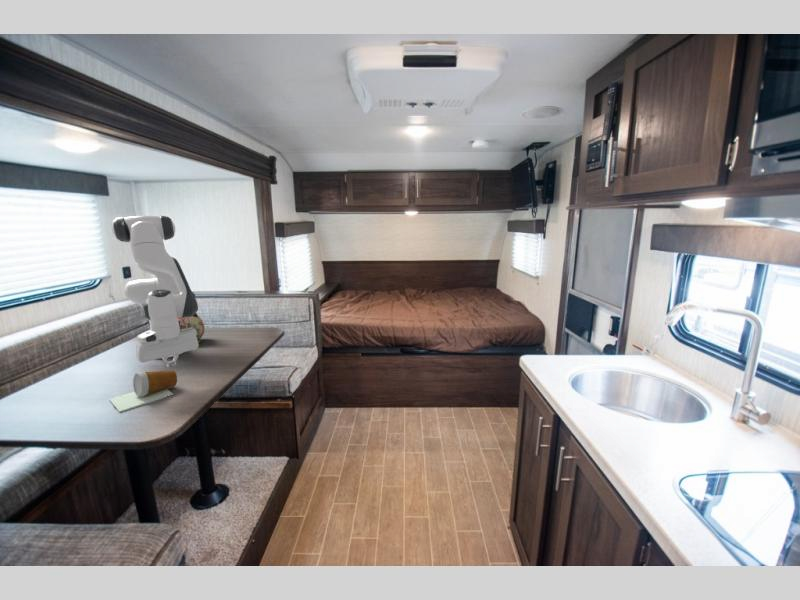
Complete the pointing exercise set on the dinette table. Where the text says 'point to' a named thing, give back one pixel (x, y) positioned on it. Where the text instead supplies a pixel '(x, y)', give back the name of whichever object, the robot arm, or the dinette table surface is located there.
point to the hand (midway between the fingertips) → (171, 365)
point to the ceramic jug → (192, 324)
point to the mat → (137, 400)
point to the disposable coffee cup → (153, 381)
